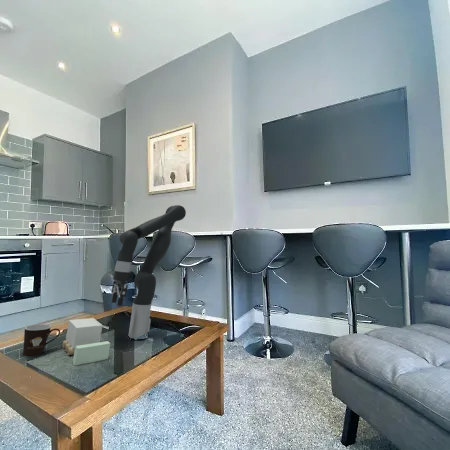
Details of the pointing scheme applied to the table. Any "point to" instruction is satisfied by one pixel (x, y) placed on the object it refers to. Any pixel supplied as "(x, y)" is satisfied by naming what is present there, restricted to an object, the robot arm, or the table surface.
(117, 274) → the robot arm
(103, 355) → the block
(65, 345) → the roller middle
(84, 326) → the white stacked block
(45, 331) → the coffee mug
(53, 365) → the table surface
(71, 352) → the roller front
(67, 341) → the roller rear
